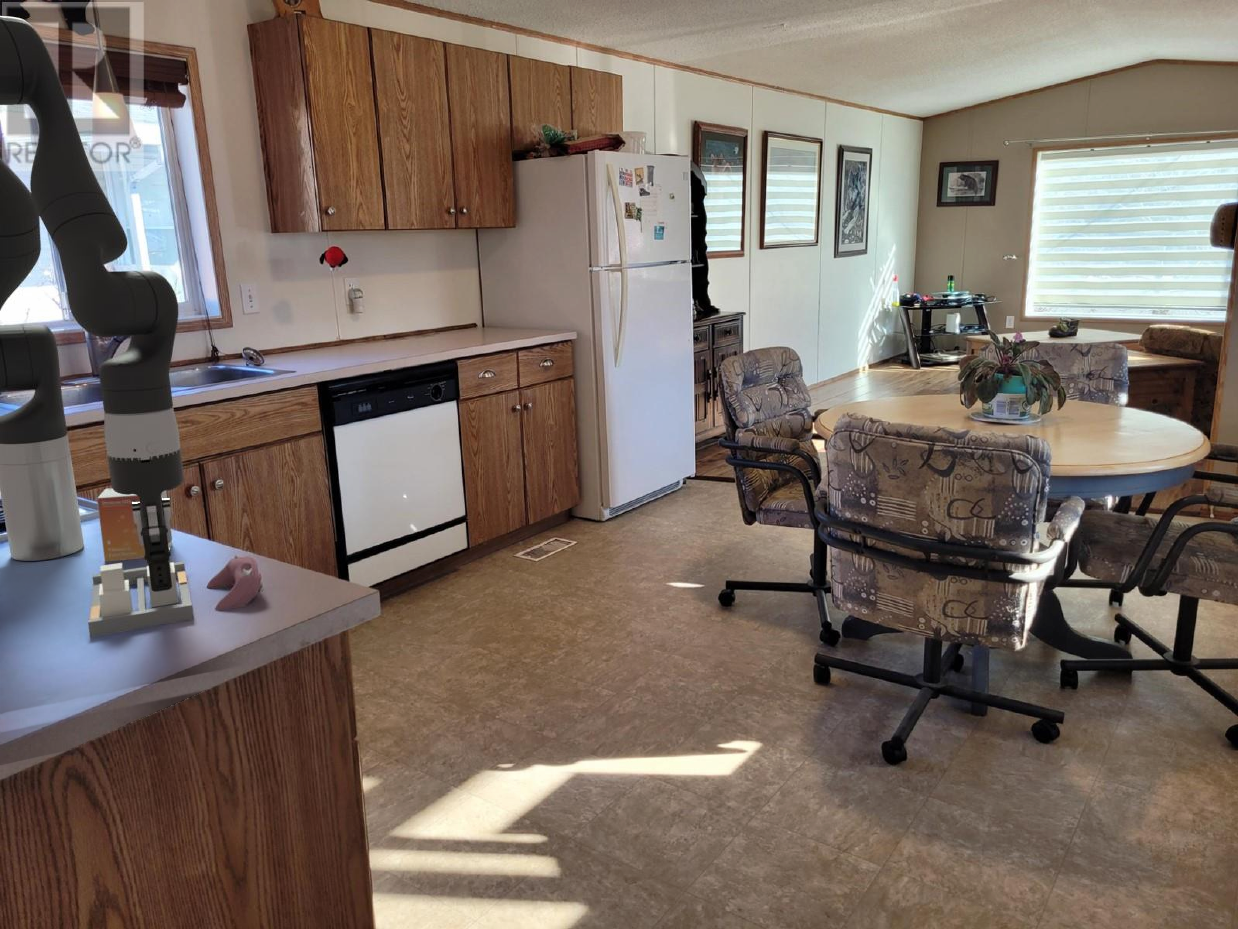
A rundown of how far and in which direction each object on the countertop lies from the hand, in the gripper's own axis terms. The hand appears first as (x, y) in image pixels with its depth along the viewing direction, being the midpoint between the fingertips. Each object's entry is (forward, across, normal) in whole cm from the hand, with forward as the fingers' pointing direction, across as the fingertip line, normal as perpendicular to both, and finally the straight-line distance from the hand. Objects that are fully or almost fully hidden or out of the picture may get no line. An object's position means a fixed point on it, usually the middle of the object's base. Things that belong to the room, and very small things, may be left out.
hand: (162, 588), depth 108 cm
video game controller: (+4, -2, +8) cm, 9 cm away
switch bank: (+4, -4, -2) cm, 6 cm away
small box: (+4, -25, -2) cm, 25 cm away
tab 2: (+3, -4, 0) cm, 5 cm away
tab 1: (+3, 0, -5) cm, 6 cm away
